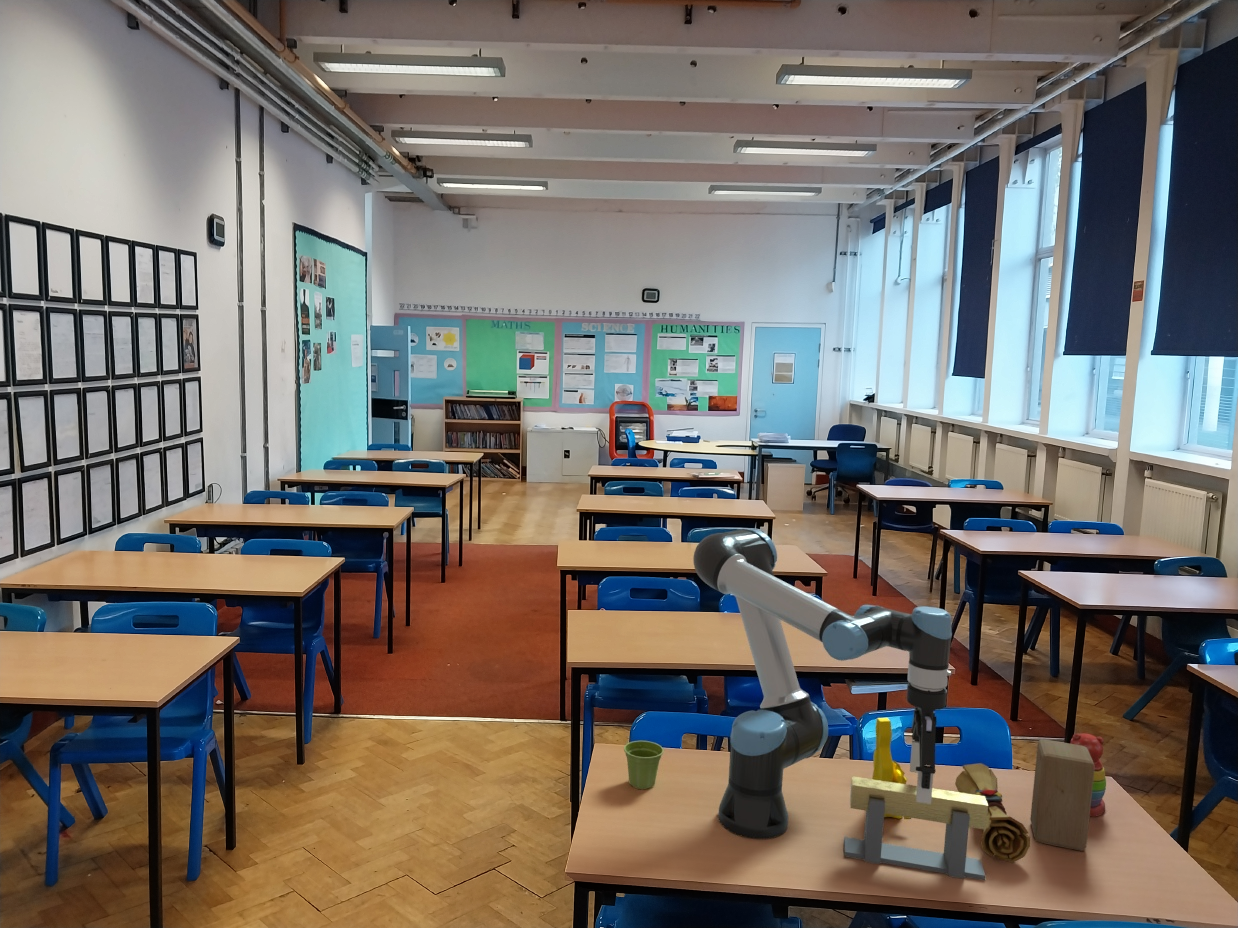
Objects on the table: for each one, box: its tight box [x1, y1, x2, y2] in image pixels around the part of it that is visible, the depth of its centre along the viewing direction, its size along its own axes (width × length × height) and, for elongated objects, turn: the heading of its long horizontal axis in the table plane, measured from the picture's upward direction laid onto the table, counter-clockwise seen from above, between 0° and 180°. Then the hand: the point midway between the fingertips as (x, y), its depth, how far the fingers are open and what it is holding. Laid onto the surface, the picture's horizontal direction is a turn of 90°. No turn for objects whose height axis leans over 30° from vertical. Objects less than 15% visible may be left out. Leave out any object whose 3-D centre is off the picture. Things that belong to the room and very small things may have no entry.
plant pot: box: [623, 740, 665, 790], centre depth 202 cm, size 9×9×9 cm
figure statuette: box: [871, 717, 912, 820], centre depth 193 cm, size 18×8×22 cm, turn 2°
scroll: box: [954, 762, 1031, 863], centre depth 187 cm, size 27×10×10 cm, turn 170°
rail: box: [849, 776, 988, 830], centre depth 173 cm, size 26×4×5 cm, turn 76°
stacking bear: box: [1069, 732, 1107, 818], centre depth 200 cm, size 11×10×18 cm
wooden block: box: [1029, 738, 1095, 852], centre depth 185 cm, size 10×10×20 cm
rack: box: [843, 798, 986, 881], centre depth 174 cm, size 27×7×13 cm, turn 76°
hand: (919, 786), depth 173 cm, fingers open, 13 cm apart
